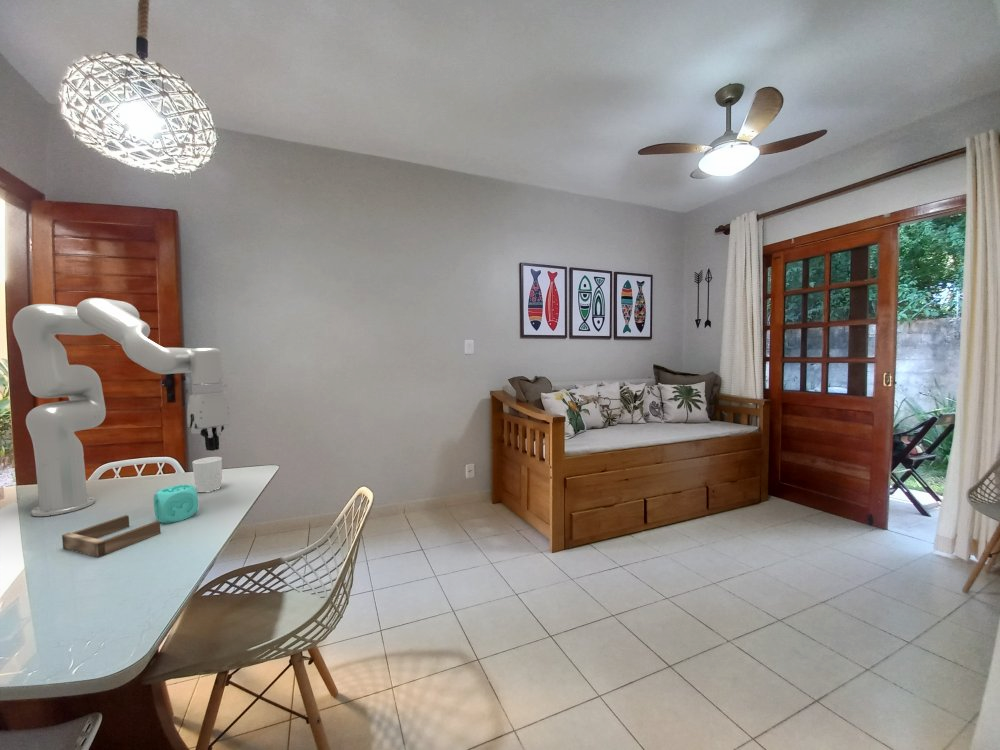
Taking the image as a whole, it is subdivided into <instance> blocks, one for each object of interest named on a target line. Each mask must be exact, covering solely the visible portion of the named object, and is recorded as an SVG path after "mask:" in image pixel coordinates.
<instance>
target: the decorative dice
mask: <svg viewBox="0 0 1000 750" xmlns="http://www.w3.org/2000/svg"><path fill="white" fill-rule="evenodd" d="M153 509H154V514H155V515H154V516H155V518H156V521H160V522H161V523H160V524H172V523H176V522H181V521H184V519H185V520H187V519H189V518H191V516H192V517H193V516H194V515H196V513H197V512H198V510H199V495H198V492H197V491H196V486H194V485H192V484H178V485H177V484H176V485H171V486H167V487H164V488H162V489H160V490H158V491H156V493H154V496H153ZM171 522H172V523H171Z"/></svg>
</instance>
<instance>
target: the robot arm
mask: <svg viewBox="0 0 1000 750" xmlns="http://www.w3.org/2000/svg"><path fill="white" fill-rule="evenodd" d="M150 328H151V327H150V325H149V324H148V323H147V322H146V321H143V320H142V319H141V318H140V312H139V311H138V310H137V308H136V307H135V306H134V305H133V304H131V303H129V302H126V301H121V300H117V299H116V300H115V299H110V298H102V297H90V298H89V297H88V298H86V299H83V300H82V301H80V302H79V303H78V304H77V306H70V305H63V304H53V303H36V304H35V303H34V304H30V305H28V306H27V305H26V306H24V307H23V308H21V309H20V310H19V311H17V313H16V314H15V315H14V318H13V320H12V331H13V335H14V337H15V339H16V342H17V345H18V347H19V349H20V352H21V353H20V354H21V358H22V364H23V369H24V375H25V380H26V384H27V388H28V390H29V393H30V394H31V395H32V396H34V397H36V398H41V399H56V398H64V397H68V400H64V401H63V400H62V401H55V402H48V403H44V404H40V405H38V406H36V407H34V408H32V409H31V410H30V411H29V412H28V413H27V414H26V418H25V425H26V428H27V430H28V433H29V436H30V438H31V442H32V446H33V454H34V460H35V473H36V484H37V494H38V496H37V497H38V505H37V506H35V507H33V509H31V512H30V513H31V516H33V517H47V516H48V517H50V515H51V516H57V515H61V514H67V513H70V512H71V513H72V512H75V511H79V510H81V509H84V508H87V507H90V506H91V505H93V504H94V503H95V500H96V498H95V497H92V496H88V491H87V477H86V467H85V466H86V465H85V455H84V454H85V453H84V446H83V444H82V442H81V440H80V439H79V438H78V436H77V435H76V434H75V432H79V431H85V430H90V429H93V428H96V427H98V426H100V425H101V424H102V423H104V420H105V418H106V414H107V412H106V410H107V409H106V403H105V398H104V392H103V386H102V381H101V378H100V376H99V374H98V373H97V372H96V371H95V369H93V368H92V367H90V366H87V365H83V364H69V360H68V355H67V350H66V348H65V347H64V345H63V344H62V343H61V341H60V340H58V338H57V337H55V336H56V335H68V336H94V335H102V334H103V335H104V336H107V337H108V338H109V339H111V340H113V341H115V342H117V343H119V344H120V345H121V348H122V350H123V352H124V353H125V355H126V356H127V358H129V359H130V360H131V361H133V362H134V363H135V364H137V365H138V366H139V365H140V367H143V368H145V369H146V370H147V371H150V372H152V373H155V374H160V375H171V374H187V373H191V374H190V375H191V387H192V388H191V389H192V394H191V395H189V397H188V401H187V409H186V410H187V414H186V419H187V421H186V422H187V427H188V428H189V429H191V430H190V433H191V434H194V435H195V434H196V435H197V434H199V435H201V436H202V438H204V444H205V449H206V451H209V452H210V451H212V452H213V451H217V450H219V449H220V436H221V434H222V432H223V431H224V430H225V429H228V428H230V426H231V417H232V416H231V409H230V402H229V399H228V395H227V393H226V392H225V389H227V387H228V385H227V384H226V383H224V375H223V360H222V359H223V358H222V351H221V350H220V349H219V348H216V347H196V348H192V347H191V348H190V347H189V348H188V347H163V346H162V345H159V344H158V343H156V342H154V341H153V340H151V339H150V338H148V337H149V336H150V334H151V329H150Z"/></svg>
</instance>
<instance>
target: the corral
mask: <svg viewBox="0 0 1000 750" xmlns="http://www.w3.org/2000/svg"><path fill="white" fill-rule="evenodd" d="M127 528H130V516H129V515H127V514H125V515H122V516H119V517H116V518H113V519H111V520H107V521H104V522H100V523H98V524H95V525H92V526H89V527H86V528H83V529H79V530H76V531H74V532H67V533H64V534H63V533H62V534H61V540H62V548H64V549H63V550H67V549H69V551H71V550H73V551H72V552H75V551H77V552H76V553H80V552H81V553H80V554H84V553H85V555H88V554H89V555H88V556H92V555H93V556H92V557H96V556H97V557H96V558H101V557H103V556H106V555H107V553H108V554H110V552H111V553H113V552H115V551H119V550H120V549H123V548H125V547H128V546H131V545H133V544H136V543H138V542H141V541H144V540H147V539H149V538H151V537H154V536H157V535H159V534H161V533H162V532H161V523H160V521H158V520H155V521H152V522H149V523H147V524H144V525H142V526H139V527H136V528H134V529H130V530H128V531H125V532H122V533H118V534H117V535H114V536H111V537H109V538H105V539H100V538H102V537H104V535H105V536H107V535H110V534H113V533H116V532H118V531H122V530H124V529H127ZM105 554H106V555H105ZM100 556H101V557H100Z"/></svg>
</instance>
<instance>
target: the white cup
mask: <svg viewBox="0 0 1000 750" xmlns="http://www.w3.org/2000/svg"><path fill="white" fill-rule="evenodd" d="M191 465H192V471H193V478H194V484H195V489H196V492H197V493H198V492H206V493H208V492H207V491H212V490H215V489H217V488H219V487H221V488H222V479H223V478H222V477H223V476H222V475H223V473H222V472H223V458H222V456H221V457H220V456H210V457H203V458H199V459H195V460H193V461H192V463H191ZM215 491H216V490H215ZM212 492H213V491H212Z"/></svg>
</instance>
